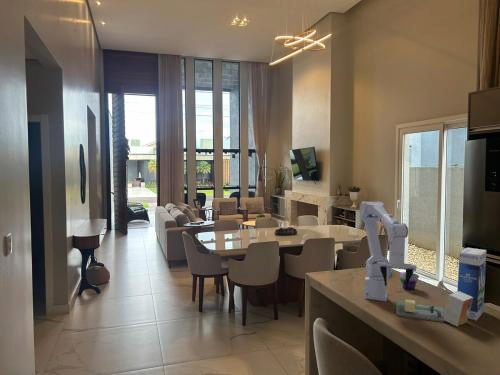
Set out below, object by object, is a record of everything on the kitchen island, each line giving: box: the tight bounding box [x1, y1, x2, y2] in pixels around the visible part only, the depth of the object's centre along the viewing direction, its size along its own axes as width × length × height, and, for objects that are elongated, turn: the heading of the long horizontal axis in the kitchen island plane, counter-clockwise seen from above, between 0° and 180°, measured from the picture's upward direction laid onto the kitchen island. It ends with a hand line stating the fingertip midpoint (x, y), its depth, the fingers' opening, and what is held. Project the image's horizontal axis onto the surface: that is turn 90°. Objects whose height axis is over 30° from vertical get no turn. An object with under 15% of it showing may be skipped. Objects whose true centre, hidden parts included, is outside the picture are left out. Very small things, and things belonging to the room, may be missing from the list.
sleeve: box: [404, 298, 416, 313], centre depth 146 cm, size 4×4×4 cm
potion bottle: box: [399, 263, 420, 291], centre depth 176 cm, size 9×9×12 cm
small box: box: [443, 291, 473, 328], centre depth 138 cm, size 8×6×10 cm
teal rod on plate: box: [395, 301, 446, 323], centre depth 145 cm, size 17×8×5 cm, turn 69°
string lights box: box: [456, 247, 487, 321], centre depth 147 cm, size 13×8×26 cm, turn 137°
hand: (395, 286), depth 148 cm, fingers open, 7 cm apart
